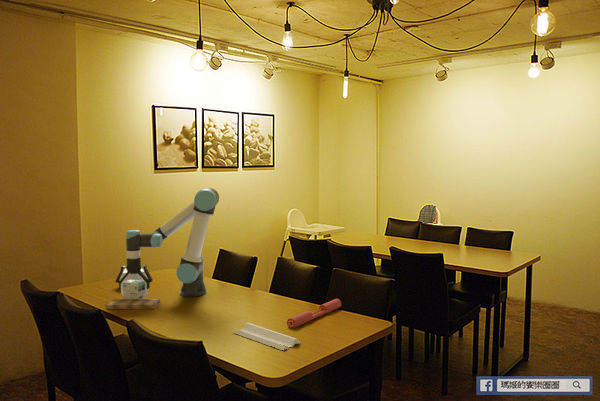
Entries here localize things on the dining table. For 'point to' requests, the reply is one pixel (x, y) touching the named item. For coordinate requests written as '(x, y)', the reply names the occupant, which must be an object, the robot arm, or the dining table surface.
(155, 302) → the walnut board
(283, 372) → the dining table surface
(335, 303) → the blood vessel
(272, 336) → the crown molding
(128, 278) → the toilet paper roll
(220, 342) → the dining table surface
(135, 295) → the light bulb box
